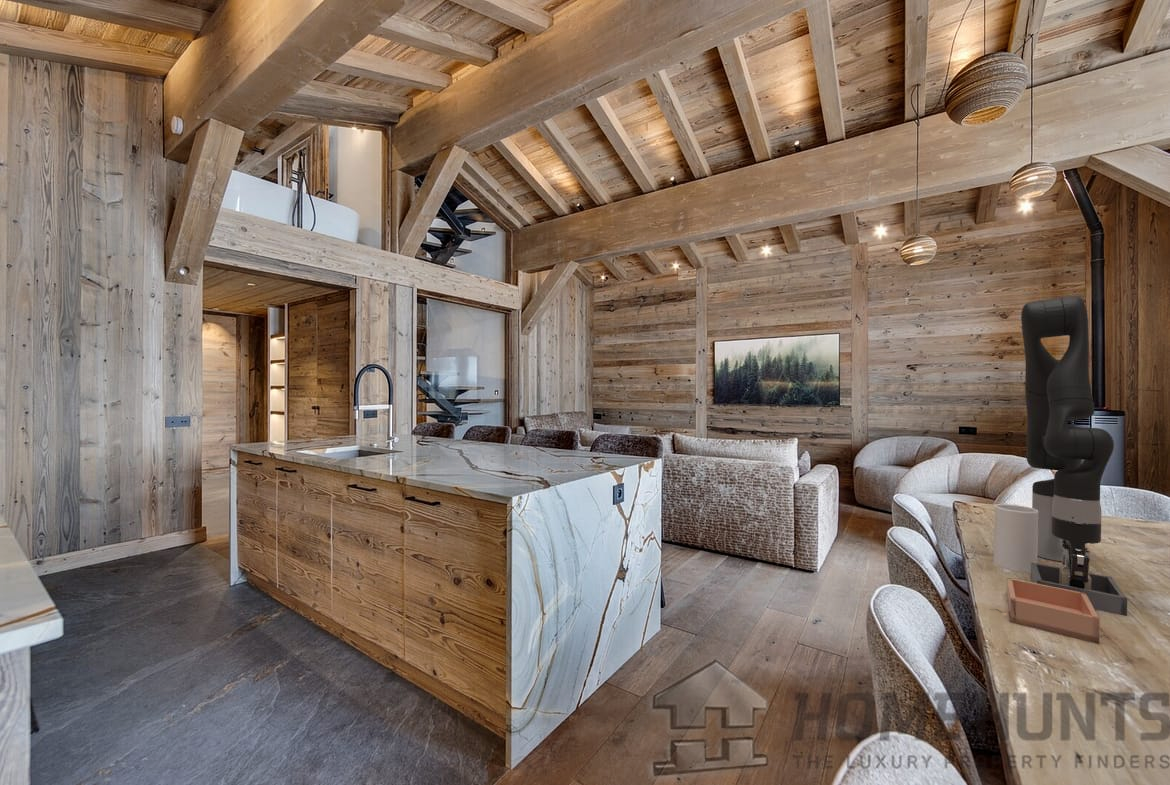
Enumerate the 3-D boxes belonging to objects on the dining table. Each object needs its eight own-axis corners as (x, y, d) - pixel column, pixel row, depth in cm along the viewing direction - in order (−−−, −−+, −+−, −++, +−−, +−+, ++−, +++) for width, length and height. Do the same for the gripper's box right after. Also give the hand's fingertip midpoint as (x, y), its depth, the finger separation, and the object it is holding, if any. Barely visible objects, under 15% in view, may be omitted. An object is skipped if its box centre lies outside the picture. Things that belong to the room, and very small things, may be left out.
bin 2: (1030, 580, 112) (1031, 562, 112) (1111, 596, 104) (1111, 576, 104) (1036, 601, 102) (1037, 580, 102) (1126, 620, 93) (1127, 598, 93)
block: (1058, 588, 106) (1059, 567, 106) (1087, 594, 103) (1087, 572, 103) (1061, 594, 103) (1062, 573, 102) (1090, 601, 100) (1091, 578, 100)
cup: (1022, 577, 114) (1023, 513, 114) (985, 565, 122) (986, 504, 122) (1045, 574, 116) (1046, 510, 116) (1008, 562, 124) (1009, 502, 124)
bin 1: (1006, 597, 103) (1006, 577, 103) (1085, 614, 96) (1085, 593, 96) (1010, 621, 93) (1010, 599, 93) (1099, 643, 85) (1099, 618, 85)
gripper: (1048, 508, 111) (1046, 579, 111) (1056, 521, 100) (1054, 599, 100) (1094, 513, 106) (1092, 587, 106) (1108, 528, 95) (1106, 610, 95)
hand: (1074, 593), depth 103 cm, fingers open, 5 cm apart
